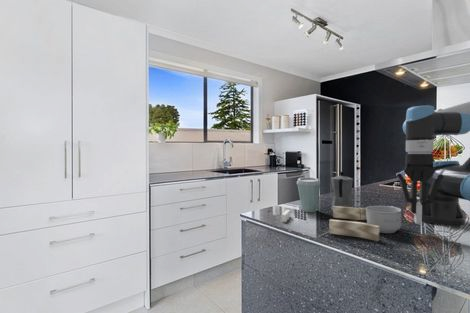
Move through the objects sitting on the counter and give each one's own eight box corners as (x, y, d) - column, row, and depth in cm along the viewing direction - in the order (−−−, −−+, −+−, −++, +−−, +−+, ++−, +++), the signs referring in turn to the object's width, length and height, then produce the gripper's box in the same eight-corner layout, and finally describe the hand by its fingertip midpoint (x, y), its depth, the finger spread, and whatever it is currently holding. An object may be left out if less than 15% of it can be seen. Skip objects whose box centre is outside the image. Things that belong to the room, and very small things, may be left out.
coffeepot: (332, 206, 123) (332, 170, 122) (353, 208, 119) (353, 170, 118) (328, 214, 109) (328, 173, 109) (352, 217, 105) (352, 174, 104)
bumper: (290, 216, 107) (290, 209, 107) (285, 222, 100) (285, 214, 99) (286, 216, 108) (286, 209, 107) (281, 221, 100) (281, 214, 100)
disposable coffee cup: (325, 212, 112) (325, 179, 112) (303, 214, 110) (303, 180, 109) (313, 207, 123) (312, 176, 122) (292, 208, 120) (292, 177, 120)
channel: (372, 218, 102) (372, 207, 102) (379, 241, 78) (379, 227, 78) (333, 215, 108) (333, 204, 108) (328, 235, 84) (328, 222, 84)
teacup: (387, 238, 81) (387, 213, 81) (358, 228, 91) (358, 206, 91) (414, 231, 87) (414, 208, 86) (384, 222, 96) (384, 202, 96)
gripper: (398, 153, 83) (397, 224, 84) (447, 153, 77) (446, 228, 78) (394, 152, 90) (393, 218, 91) (439, 152, 84) (438, 222, 85)
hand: (417, 222), depth 85 cm, fingers closed
